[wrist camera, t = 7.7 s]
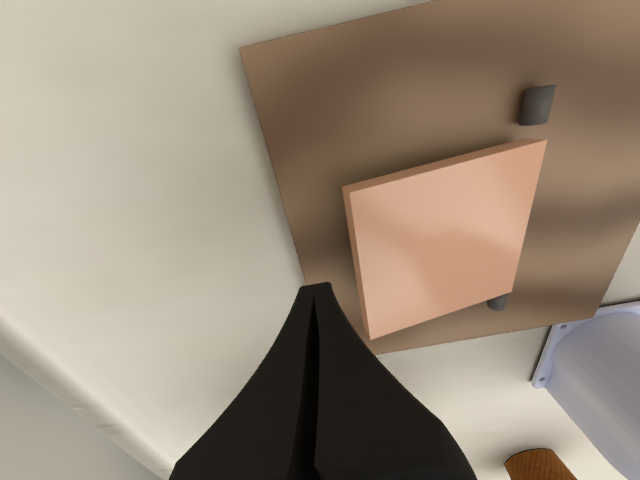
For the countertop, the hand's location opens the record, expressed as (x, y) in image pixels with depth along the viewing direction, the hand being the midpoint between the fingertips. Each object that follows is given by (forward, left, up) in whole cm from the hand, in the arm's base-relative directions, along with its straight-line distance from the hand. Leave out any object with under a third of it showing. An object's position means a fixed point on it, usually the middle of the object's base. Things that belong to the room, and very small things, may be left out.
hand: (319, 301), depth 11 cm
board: (0, -9, -5) cm, 10 cm away
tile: (0, -11, -4) cm, 12 cm away
